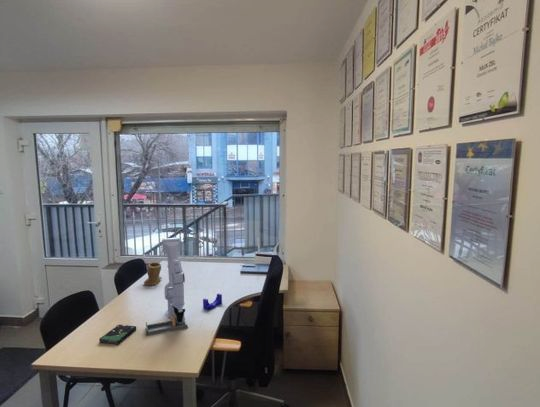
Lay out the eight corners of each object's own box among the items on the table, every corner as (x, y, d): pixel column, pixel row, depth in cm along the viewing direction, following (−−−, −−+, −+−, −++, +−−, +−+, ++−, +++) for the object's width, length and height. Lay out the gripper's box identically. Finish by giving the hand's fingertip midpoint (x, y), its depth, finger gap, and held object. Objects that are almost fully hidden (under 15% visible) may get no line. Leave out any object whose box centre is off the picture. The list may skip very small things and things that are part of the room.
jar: (175, 322, 170) (174, 309, 169) (185, 320, 171) (183, 308, 171) (175, 326, 165) (173, 314, 164) (185, 324, 167) (183, 312, 166)
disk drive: (118, 329, 166) (98, 344, 151) (118, 324, 165) (98, 338, 151) (136, 331, 164) (118, 346, 149) (136, 325, 164) (118, 340, 149)
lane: (145, 328, 165) (145, 322, 165) (185, 321, 174) (185, 315, 173) (146, 336, 158) (145, 329, 157) (187, 327, 166) (187, 321, 166)
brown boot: (157, 286, 227) (157, 266, 225) (141, 286, 227) (140, 265, 226) (166, 279, 242) (165, 260, 240) (150, 278, 242) (150, 259, 241)
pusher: (172, 323, 170) (171, 314, 169) (174, 322, 170) (173, 314, 170) (173, 328, 164) (173, 319, 164) (175, 327, 165) (175, 318, 164)
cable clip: (207, 310, 187) (207, 301, 186) (203, 308, 190) (203, 299, 189) (223, 304, 196) (223, 295, 195) (218, 302, 199) (218, 293, 198)
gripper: (168, 291, 172) (169, 315, 173) (172, 301, 158) (172, 327, 160) (182, 289, 174) (182, 313, 176) (186, 299, 161) (187, 324, 163)
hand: (179, 319), depth 168 cm, fingers closed on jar, 5 cm apart
